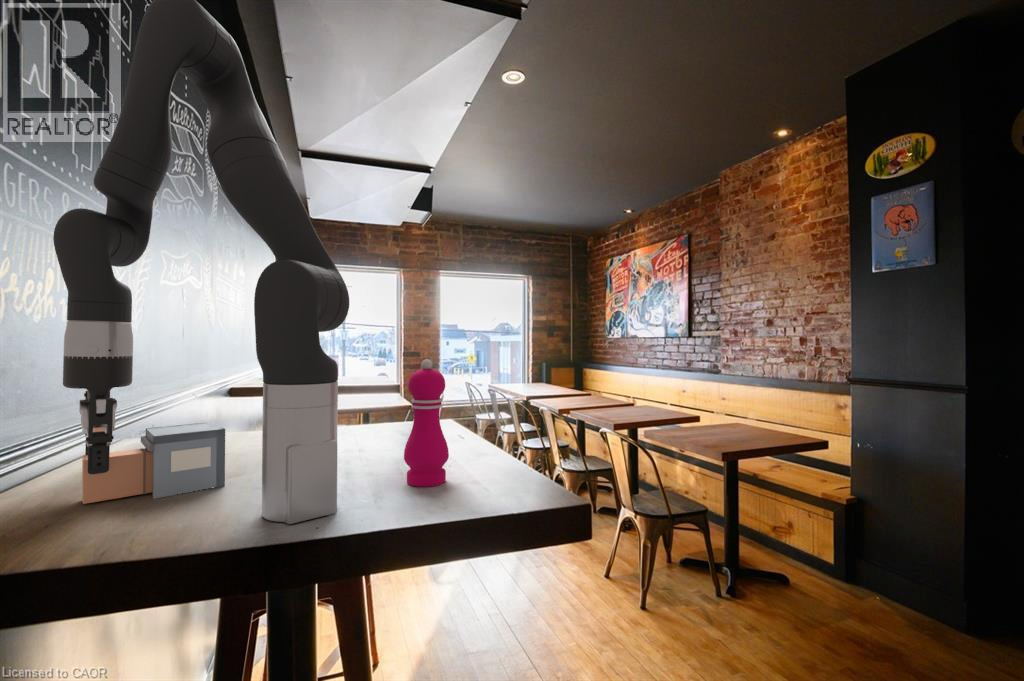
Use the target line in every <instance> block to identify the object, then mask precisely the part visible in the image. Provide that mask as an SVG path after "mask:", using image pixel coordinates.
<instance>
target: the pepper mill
mask: <svg viewBox="0 0 1024 681" xmlns="http://www.w3.org/2000/svg"><path fill="white" fill-rule="evenodd" d="M432 367H433V362H432V360H430V359H427V358H425V359H424V360H422V362H421V368H420V369H418V370H416V371H414V372H413V373H412V374H411V375H410V377H409V379H408V384H407V386H408V387H407V388H408V391H409V394H410V395H411V396H412V397H413V398H411V400H410V401H411V406H410V407H411V408H412V409H413V422H412V423H413V424H412V428H411V431H410V434H409V437H408V438H407V441H406V443H405V447H404V452H403V461H404V462H405V464H406V465H407V466H408V467H409V469H408V470H407V471H406V483H407V484H408V485H410V486H411V487H417V488H428V487H429V488H431V487H437V486H439V485H443V484H444V483H445V482H446V481H447V478H446V472H447V471H446V469H445V468H444V465H445V464H446V463H447V462H448V460H449V456H450V454H449V447H448V442H447V440H446V438H445V435H444V433H443V430H442V429H443V428H442V427H441V420H440V412H441V411H440V409H441V408H442V407H443V404H442V402H443V398H442V397H441V396H442V395H443V393H444V391H445V390H446V380H445V377H444V376H443V374H442V373H441V372H440V371H438V370H436V369H434V368H432Z"/></svg>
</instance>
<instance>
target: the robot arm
mask: <svg viewBox="0 0 1024 681" xmlns="http://www.w3.org/2000/svg"><path fill="white" fill-rule="evenodd" d="M137 34H138V35H137V38H136V42H135V47H134V52H133V56H132V60H131V64H130V68H129V74H128V78H127V82H126V83H127V84H126V88H125V94H124V97H123V101H122V102H123V103H122V105H121V106H122V107H121V110H120V113H119V116H118V120H117V123H116V126H115V129H114V131H113V133H112V137H111V139H110V141H109V143H108V144H107V147H106V150H105V151H104V154H103V156H102V159H100V160H101V161H100V163H99V165H98V168H97V170H96V171H95V175H94V177H93V185H94V188H95V189H96V190H97V191H98V192H99V193H101V194H102V195H104V196H105V197H106V211H105V213H102V212H99V211H96V210H93V209H89V208H82V207H80V208H74V209H73V208H72V209H70V210H68V211H66V212H65V213H63V215H62V216H60V217H59V219H58V220H57V222H56V224H55V227H54V229H53V239H52V240H53V246H54V251H55V255H56V258H57V261H58V264H59V265H58V266H59V268H60V272H61V275H62V278H63V281H64V284H65V287H66V291H67V302H66V304H67V305H66V307H67V309H66V326H65V331H64V336H63V357H62V358H63V360H62V361H63V365H62V366H63V367H62V369H63V370H62V386H63V387H64V388H67V389H78V390H80V389H81V390H83V389H85V392H84V393H83V397H84V399H79V401H78V402H79V403H78V404H79V405H78V406H79V408H78V409H79V410H78V412H79V415H80V426H81V427H82V428H81V430H82V433H83V435H84V436H85V454H84V456H85V455H88V473H89V474H99V473H105V472H107V471H108V470H109V453H110V451H111V450H110V447H111V446H110V445H112V443H113V440H114V435H113V431H114V430H115V429H116V428H115V426H116V413H117V409H118V399H116V397H115V398H113V397H111V390H113V388H123V387H128V386H131V385H132V383H133V367H134V366H133V365H134V364H133V363H134V362H133V360H134V359H133V358H134V356H133V355H134V333H133V329H132V328H133V327H132V321H133V320H132V318H133V317H132V315H133V310H132V309H133V306H132V305H133V298H132V296H133V295H132V290H131V288H130V287H129V286H128V285H126V283H123V282H121V281H120V280H118V279H117V278H116V276H115V273H114V270H113V267H116V268H117V267H120V268H121V267H122V268H123V267H124V268H125V267H127V266H130V265H132V264H134V263H135V262H137V261H138V260H140V258H141V257H142V256H143V254H144V253H145V251H146V250H147V247H148V244H149V241H150V236H151V226H152V220H153V209H154V207H153V206H154V201H155V199H156V197H157V195H158V192H159V190H160V188H161V187H162V184H163V182H164V179H165V177H166V175H167V173H168V170H169V168H170V166H171V159H172V157H173V156H172V154H173V136H172V126H171V125H172V124H171V111H170V110H171V109H170V108H171V104H170V103H171V92H172V87H173V84H174V82H175V78H176V76H177V74H178V72H179V73H181V74H182V75H183V76H185V78H187V79H188V80H189V81H190V82H191V83H192V84H193V85H194V87H195V88H196V89H197V91H198V93H199V95H200V96H201V98H202V99H203V101H204V104H205V106H206V107H207V110H208V113H209V115H210V119H211V122H210V126H209V130H208V132H207V136H206V137H207V138H206V151H207V152H206V153H207V155H208V159H209V161H210V164H211V168H212V169H213V171H214V174H215V176H216V179H217V182H218V184H219V185H220V188H221V190H222V191H223V194H224V196H225V197H226V198H227V200H228V202H229V203H230V204H231V206H233V208H234V209H235V211H236V212H237V213H238V214H239V215H240V217H241V218H242V219H243V220H244V221H245V222H246V224H247V225H249V226H250V228H251V229H253V230H254V232H255V233H256V234H257V235H258V236H259V237H260V238H261V239H262V240H263V242H265V244H266V245H267V247H268V248H269V249H270V251H271V252H272V254H273V256H274V258H275V259H276V261H273V262H271V263H270V264H268V265H267V266H266V267H265V268H264V269H263V270H262V272H261V274H260V275H259V277H258V279H257V283H256V284H255V285H256V286H255V290H254V298H253V299H254V303H253V310H254V311H253V312H254V315H253V316H254V329H255V330H254V331H255V334H254V335H255V353H256V357H257V358H256V359H257V362H258V363H259V364H258V365H259V366H260V368H261V371H262V382H263V383H262V438H261V440H262V444H261V445H262V447H261V448H262V450H261V451H262V452H261V454H262V457H261V460H262V461H261V462H262V464H261V516H262V518H263V519H265V520H268V521H271V522H279V523H281V522H282V523H286V524H287V525H293V524H297V523H301V522H304V521H307V520H309V521H310V520H312V519H316V518H320V517H324V516H329V515H332V514H337V512H338V417H339V416H338V406H339V405H338V404H339V403H338V401H339V399H338V397H339V396H338V395H339V394H338V393H339V391H338V390H339V382H338V380H339V367H338V362H337V361H336V360H335V359H333V358H332V357H330V356H329V355H328V354H327V353H326V352H325V351H324V350H323V348H322V346H321V342H320V341H321V340H320V333H323V332H329V331H330V332H331V331H334V330H336V329H337V328H339V327H340V326H342V324H343V323H344V321H345V320H346V318H347V316H348V314H349V309H350V294H349V291H348V286H347V285H346V282H345V280H344V278H343V277H342V274H341V273H340V271H339V269H338V268H337V266H336V264H335V263H334V261H333V259H332V257H331V255H330V254H329V252H328V251H327V249H326V248H325V246H324V244H323V242H322V240H321V238H320V237H319V235H318V233H317V231H316V228H315V227H314V225H313V223H312V220H311V218H310V216H309V213H308V211H307V209H306V207H305V205H304V202H303V200H302V198H301V196H300V193H299V191H298V189H297V186H296V185H295V183H294V181H293V180H294V179H293V178H292V175H291V172H290V170H289V168H288V164H287V163H286V160H285V159H284V156H283V153H282V151H281V149H280V148H279V145H278V142H276V140H275V138H274V136H273V134H272V131H271V128H270V127H269V125H268V122H267V120H266V118H265V116H264V114H263V112H262V110H261V108H260V107H259V104H258V102H257V99H256V97H255V94H254V92H253V88H252V85H251V82H250V78H249V75H248V72H247V69H246V65H245V62H244V59H243V56H242V53H241V51H240V48H239V47H238V45H237V42H236V41H235V40H234V38H233V36H232V35H231V34H230V33H229V32H228V30H226V29H225V28H224V27H223V26H222V24H220V23H219V22H218V20H216V19H215V18H214V16H212V15H211V14H210V12H208V10H206V9H205V8H204V6H202V4H200V3H199V2H198V1H197V0H152V1H151V2H150V3H149V5H148V6H147V9H146V11H145V12H144V15H143V17H142V20H141V22H140V26H139V29H138V33H137Z"/></svg>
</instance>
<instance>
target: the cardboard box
mask: <svg viewBox="0 0 1024 681" xmlns="http://www.w3.org/2000/svg"><path fill="white" fill-rule="evenodd" d="M81 458H82V463H81V464H82V465H81V468H82V469H81V499H82V500H81V501H82V504H83V505H84V504H85V505H87V504H90V503H97V502H103V501H110V500H115V499H121V498H126V497H132V496H137V495H146V494H149V493H151V494H152V493H153V451H151V452H149V451H148V450H147V449H146V447H144V448H141V447H140V448H138V449H129V450H121V451H120V450H119V451H112V452H109V470H108V471H107V472H105V473H99V474H89V473H88V455H85V454H84V455H82V456H81Z"/></svg>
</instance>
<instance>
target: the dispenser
mask: <svg viewBox="0 0 1024 681" xmlns="http://www.w3.org/2000/svg"><path fill="white" fill-rule="evenodd" d="M140 443H141V444H142V445H143V446H144V448H146V449H147V450H148V451H149V452H151V451H153V492H152V498H153V499H161V498H165V497H171V496H177V494H178V495H183V494H189V493H193V491H195V492H199V491H198V490H200V491H203V490H202V489H206V490H208V489H207V488H212V487H217V488H220V487H219V486H223V487H225V486H226V482H225V481H226V428H224V427H222V426H221V425H218V424H216V423H214V422H212V421H210V422H209V421H208V422H197V423H196V422H195V423H186V424H180V425H179V424H177V425H168V426H167V425H165V426H158V427H157V426H156V427H146V428H145V435H140ZM212 489H213V488H212ZM188 492H189V493H188ZM182 493H183V494H182Z"/></svg>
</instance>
